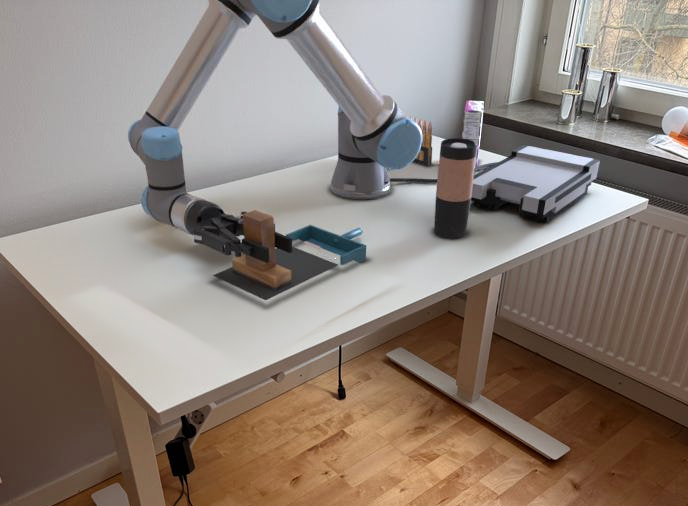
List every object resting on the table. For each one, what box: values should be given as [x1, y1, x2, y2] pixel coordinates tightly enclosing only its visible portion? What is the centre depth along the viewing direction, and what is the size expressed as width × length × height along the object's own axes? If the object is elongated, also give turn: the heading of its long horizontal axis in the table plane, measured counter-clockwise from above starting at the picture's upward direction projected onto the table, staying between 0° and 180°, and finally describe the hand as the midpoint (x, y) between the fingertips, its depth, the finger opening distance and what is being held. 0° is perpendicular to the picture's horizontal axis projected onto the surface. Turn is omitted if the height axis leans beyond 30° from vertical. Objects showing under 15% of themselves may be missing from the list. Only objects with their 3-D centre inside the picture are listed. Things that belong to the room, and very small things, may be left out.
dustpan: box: [285, 224, 367, 266], centre depth 149 cm, size 15×16×3 cm
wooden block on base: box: [231, 209, 291, 290], centre depth 132 cm, size 4×12×12 cm, turn 48°
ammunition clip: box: [405, 114, 433, 167], centre depth 197 cm, size 11×2×12 cm, turn 43°
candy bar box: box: [461, 100, 485, 169], centre depth 193 cm, size 11×5×16 cm, turn 168°
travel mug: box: [433, 137, 477, 240], centre depth 152 cm, size 8×8×20 cm
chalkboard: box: [212, 246, 339, 301], centre depth 139 cm, size 20×15×2 cm
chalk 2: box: [316, 251, 337, 261], centre depth 144 cm, size 1×5×1 cm
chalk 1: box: [303, 241, 324, 250], centre depth 148 cm, size 1×5×1 cm
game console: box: [471, 144, 601, 224], centre depth 172 cm, size 21×32×8 cm, turn 142°
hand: (279, 250), depth 129 cm, fingers open, 5 cm apart
